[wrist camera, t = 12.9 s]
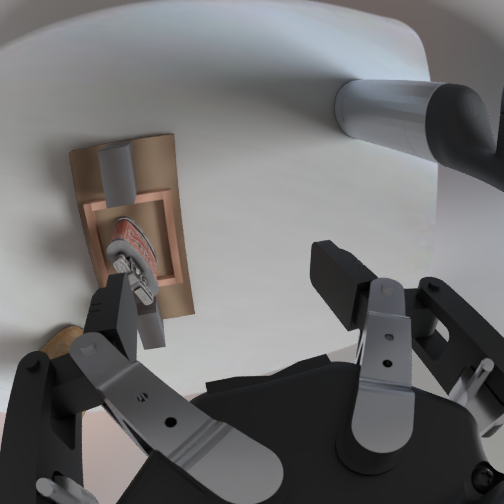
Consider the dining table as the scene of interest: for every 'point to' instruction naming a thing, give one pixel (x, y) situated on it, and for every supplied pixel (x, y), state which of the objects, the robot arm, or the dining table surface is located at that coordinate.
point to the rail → (137, 219)
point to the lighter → (134, 258)
